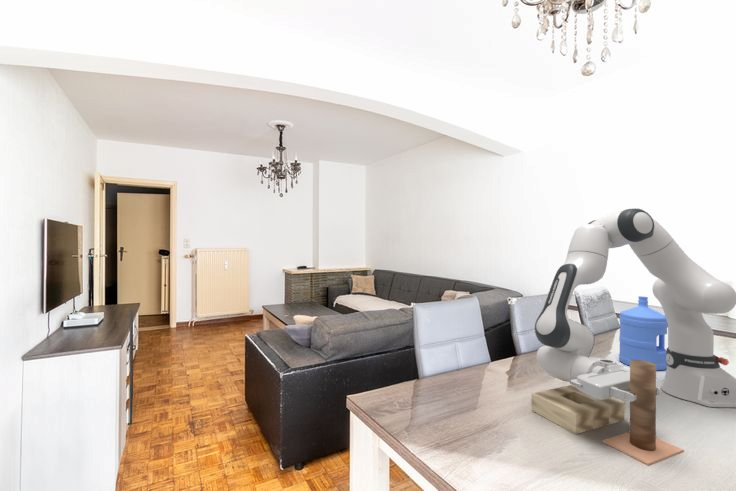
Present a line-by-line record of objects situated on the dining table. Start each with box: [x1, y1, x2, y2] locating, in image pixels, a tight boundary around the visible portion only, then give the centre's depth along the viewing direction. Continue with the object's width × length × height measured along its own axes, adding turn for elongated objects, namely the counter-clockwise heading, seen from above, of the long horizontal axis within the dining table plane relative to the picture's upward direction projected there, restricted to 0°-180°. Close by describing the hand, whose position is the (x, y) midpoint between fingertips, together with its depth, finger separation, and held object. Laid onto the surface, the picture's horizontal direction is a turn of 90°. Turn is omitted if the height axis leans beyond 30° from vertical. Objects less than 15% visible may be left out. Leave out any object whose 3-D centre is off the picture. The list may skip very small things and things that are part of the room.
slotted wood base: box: [531, 384, 626, 435], centre depth 101 cm, size 20×14×5 cm
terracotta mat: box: [602, 431, 685, 466], centre depth 85 cm, size 14×10×1 cm
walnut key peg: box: [629, 360, 657, 451], centre depth 85 cm, size 5×5×20 cm
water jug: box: [618, 296, 668, 371], centre depth 145 cm, size 16×16×28 cm
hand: (647, 395), depth 84 cm, fingers open, 8 cm apart
